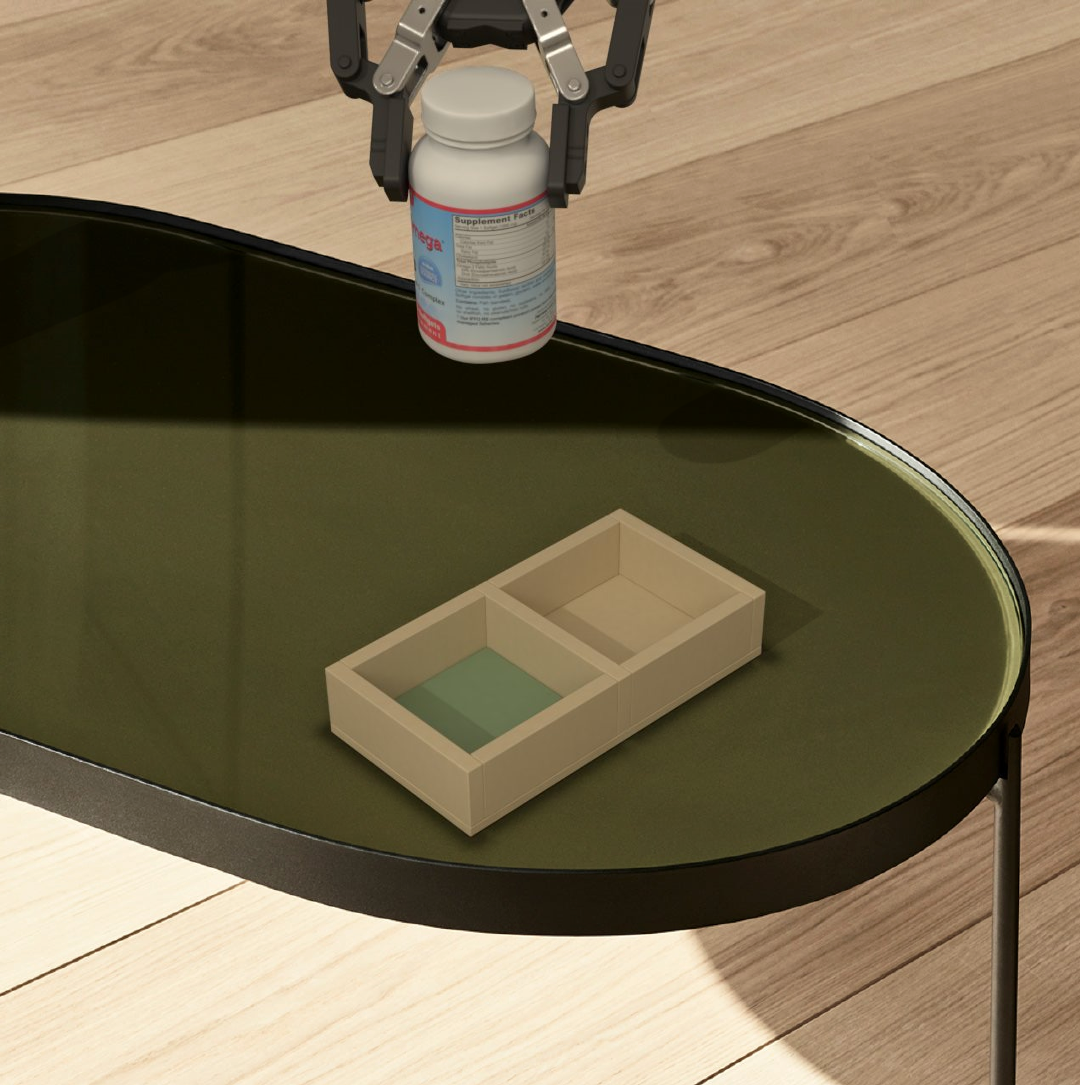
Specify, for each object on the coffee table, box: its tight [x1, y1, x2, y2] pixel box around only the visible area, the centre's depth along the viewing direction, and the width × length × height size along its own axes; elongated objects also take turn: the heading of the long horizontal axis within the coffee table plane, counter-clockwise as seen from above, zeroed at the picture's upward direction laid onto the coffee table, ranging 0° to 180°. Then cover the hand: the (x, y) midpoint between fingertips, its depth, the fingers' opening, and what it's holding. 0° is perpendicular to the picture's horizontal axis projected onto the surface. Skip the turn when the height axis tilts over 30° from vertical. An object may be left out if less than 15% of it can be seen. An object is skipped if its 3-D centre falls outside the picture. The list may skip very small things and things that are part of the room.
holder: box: [324, 508, 767, 837], centre depth 85 cm, size 17×9×4 cm, turn 133°
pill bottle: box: [408, 65, 558, 365], centre depth 82 cm, size 6×6×11 cm
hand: (476, 198), depth 80 cm, fingers closed on pill bottle, 6 cm apart
